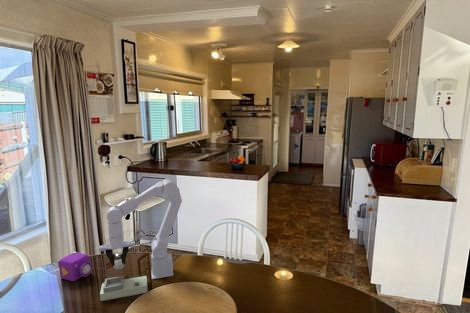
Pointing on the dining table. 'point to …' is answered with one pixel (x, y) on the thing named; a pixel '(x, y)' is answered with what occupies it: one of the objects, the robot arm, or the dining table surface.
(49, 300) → the dining table surface
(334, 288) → the dining table surface
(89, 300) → the dining table surface
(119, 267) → the lens
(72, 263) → the toy camera
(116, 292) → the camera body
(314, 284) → the dining table surface
